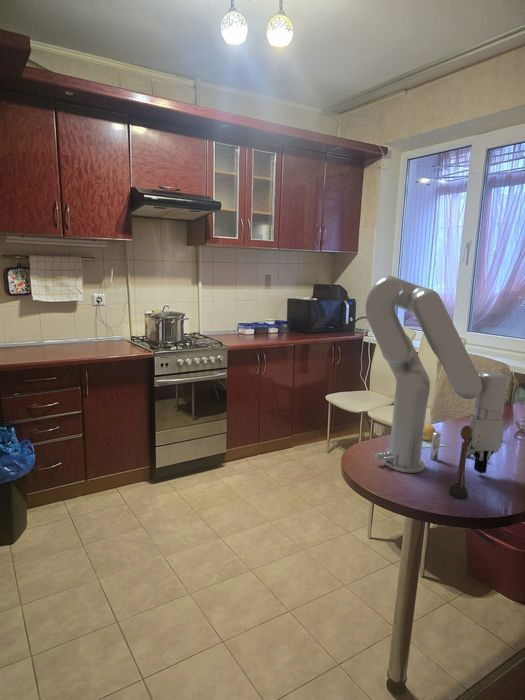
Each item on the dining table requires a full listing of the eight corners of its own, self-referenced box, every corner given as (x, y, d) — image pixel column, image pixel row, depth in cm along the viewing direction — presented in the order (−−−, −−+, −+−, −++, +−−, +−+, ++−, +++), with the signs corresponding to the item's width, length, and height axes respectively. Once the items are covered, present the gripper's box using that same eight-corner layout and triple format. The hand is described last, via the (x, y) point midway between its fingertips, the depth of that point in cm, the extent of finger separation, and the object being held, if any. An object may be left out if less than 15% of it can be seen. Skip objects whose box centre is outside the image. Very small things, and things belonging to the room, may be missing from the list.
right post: (466, 458, 147) (469, 432, 145) (461, 455, 149) (464, 429, 148) (472, 457, 148) (476, 432, 146) (467, 454, 150) (470, 429, 148)
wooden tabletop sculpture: (454, 487, 126) (463, 420, 122) (471, 494, 123) (481, 425, 119) (446, 494, 121) (455, 425, 118) (463, 501, 118) (473, 430, 115)
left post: (432, 460, 143) (436, 434, 142) (428, 457, 146) (431, 432, 144) (439, 460, 144) (442, 434, 142) (434, 457, 146) (437, 431, 145)
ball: (413, 429, 165) (419, 444, 161) (420, 421, 160) (425, 436, 156) (428, 427, 166) (434, 442, 162) (435, 420, 161) (441, 435, 157)
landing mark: (421, 448, 154) (421, 447, 154) (404, 437, 163) (404, 436, 163) (445, 446, 156) (445, 445, 156) (428, 435, 166) (428, 435, 166)
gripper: (499, 408, 136) (490, 464, 140) (458, 410, 132) (450, 467, 136) (518, 416, 129) (509, 474, 132) (476, 418, 125) (467, 478, 128)
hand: (479, 471), depth 134 cm, fingers closed
